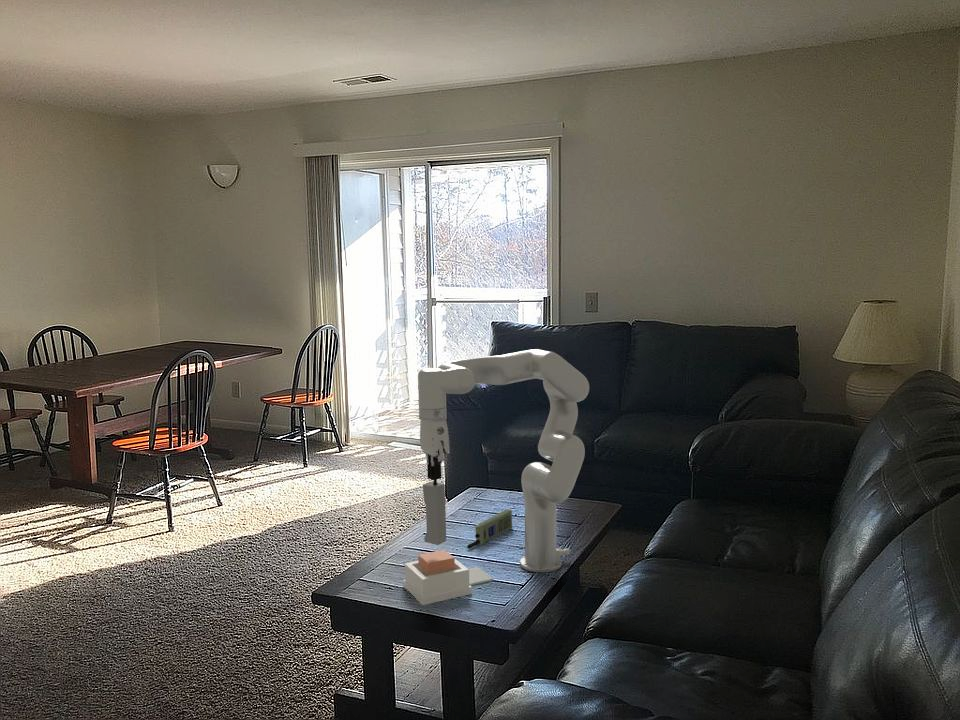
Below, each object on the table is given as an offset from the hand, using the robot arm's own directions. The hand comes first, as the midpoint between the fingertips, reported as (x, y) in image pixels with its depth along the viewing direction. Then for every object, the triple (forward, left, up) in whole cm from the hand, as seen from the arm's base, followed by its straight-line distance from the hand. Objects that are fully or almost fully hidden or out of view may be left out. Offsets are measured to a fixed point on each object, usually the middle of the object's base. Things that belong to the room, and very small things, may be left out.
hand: (434, 478), depth 222 cm
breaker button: (0, 0, -26) cm, 26 cm away
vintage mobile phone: (0, 0, -19) cm, 19 cm away
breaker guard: (0, 0, -33) cm, 33 cm away
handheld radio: (-32, -29, -33) cm, 55 cm away
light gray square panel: (-12, -3, -33) cm, 35 cm away
